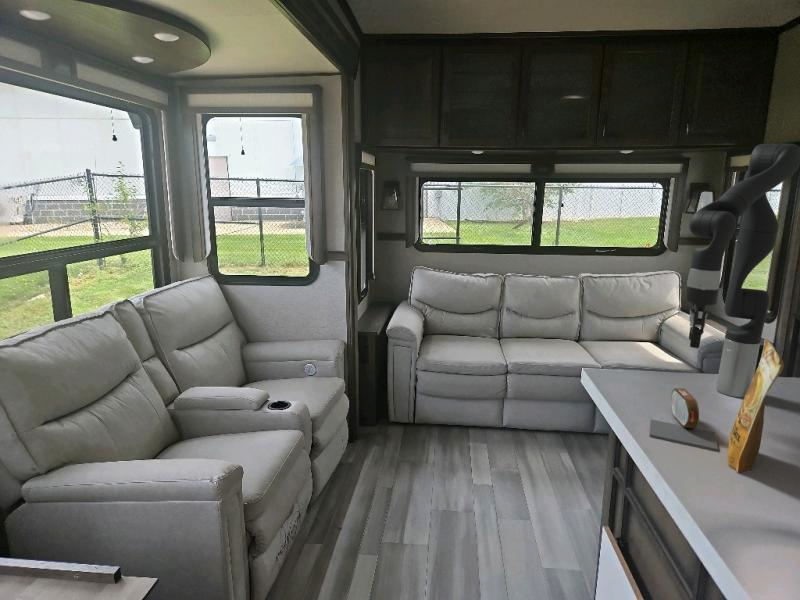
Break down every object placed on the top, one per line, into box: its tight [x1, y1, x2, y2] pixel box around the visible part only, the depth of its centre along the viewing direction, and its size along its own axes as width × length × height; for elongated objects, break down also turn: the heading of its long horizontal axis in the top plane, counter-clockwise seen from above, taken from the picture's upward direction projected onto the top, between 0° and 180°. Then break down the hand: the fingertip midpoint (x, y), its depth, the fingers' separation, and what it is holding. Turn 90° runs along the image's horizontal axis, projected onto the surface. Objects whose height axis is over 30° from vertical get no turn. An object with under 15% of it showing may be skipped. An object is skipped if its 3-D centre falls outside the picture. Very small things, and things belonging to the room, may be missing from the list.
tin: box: [670, 387, 700, 429], centre depth 139 cm, size 15×3×8 cm, turn 168°
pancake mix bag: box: [727, 338, 785, 473], centre depth 119 cm, size 7×19×28 cm, turn 146°
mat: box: [649, 419, 719, 452], centre depth 133 cm, size 10×15×1 cm, turn 63°
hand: (693, 343), depth 142 cm, fingers open, 8 cm apart
